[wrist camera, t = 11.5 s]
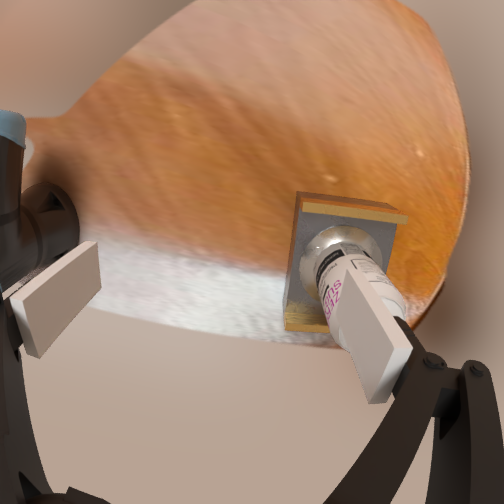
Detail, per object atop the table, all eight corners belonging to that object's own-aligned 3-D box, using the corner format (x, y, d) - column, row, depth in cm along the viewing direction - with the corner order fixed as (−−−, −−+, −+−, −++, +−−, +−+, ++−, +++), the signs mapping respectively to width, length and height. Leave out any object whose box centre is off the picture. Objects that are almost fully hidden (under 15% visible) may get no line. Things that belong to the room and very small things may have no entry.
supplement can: (374, 283, 42) (413, 345, 28) (320, 301, 43) (340, 370, 29) (363, 231, 39) (407, 279, 25) (305, 250, 41) (323, 308, 27)
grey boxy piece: (282, 302, 50) (284, 330, 42) (297, 191, 43) (303, 201, 36) (363, 307, 49) (377, 334, 42) (386, 203, 43) (408, 215, 36)
